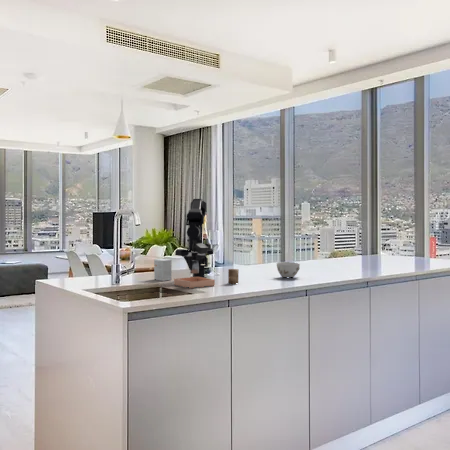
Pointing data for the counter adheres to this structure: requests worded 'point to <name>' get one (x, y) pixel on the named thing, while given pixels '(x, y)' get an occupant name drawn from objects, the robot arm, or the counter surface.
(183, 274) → the counter surface
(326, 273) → the counter surface
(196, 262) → the steel peg
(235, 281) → the walnut knob
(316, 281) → the counter surface
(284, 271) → the teacup
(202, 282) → the shallow square tray
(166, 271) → the small box
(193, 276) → the robot arm
